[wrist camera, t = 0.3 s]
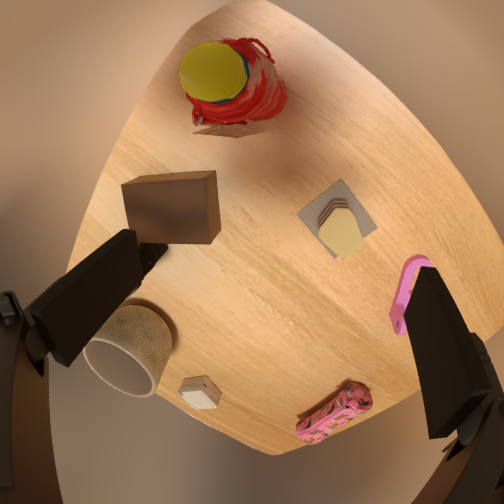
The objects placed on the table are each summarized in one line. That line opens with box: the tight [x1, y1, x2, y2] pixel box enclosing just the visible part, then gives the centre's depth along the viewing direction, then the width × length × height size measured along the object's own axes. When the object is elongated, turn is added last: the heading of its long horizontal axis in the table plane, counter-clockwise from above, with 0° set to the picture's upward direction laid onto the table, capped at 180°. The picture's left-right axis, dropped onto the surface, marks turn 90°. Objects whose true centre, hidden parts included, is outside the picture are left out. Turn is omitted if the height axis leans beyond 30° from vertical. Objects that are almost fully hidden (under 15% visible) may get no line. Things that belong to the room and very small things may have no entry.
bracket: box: [389, 255, 432, 335], centre depth 43 cm, size 13×6×7 cm, turn 0°
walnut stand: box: [121, 171, 221, 245], centre depth 45 cm, size 10×14×6 cm
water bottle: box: [178, 38, 287, 138], centre depth 27 cm, size 12×8×25 cm, turn 145°
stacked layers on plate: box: [297, 179, 378, 260], centre depth 42 cm, size 10×9×6 cm
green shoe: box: [128, 243, 168, 297], centre depth 45 cm, size 20×6×20 cm, turn 115°
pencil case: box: [296, 383, 373, 444], centre depth 60 cm, size 21×9×9 cm, turn 153°
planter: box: [83, 305, 172, 397], centre depth 55 cm, size 17×17×15 cm
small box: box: [178, 376, 222, 409], centre depth 66 cm, size 8×8×5 cm
